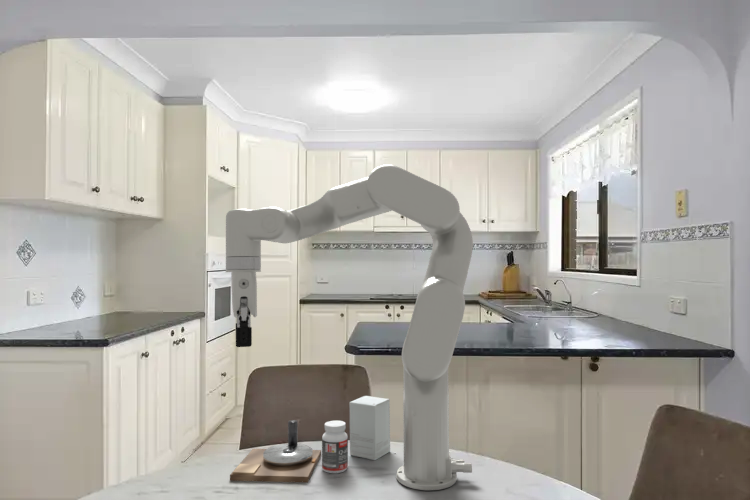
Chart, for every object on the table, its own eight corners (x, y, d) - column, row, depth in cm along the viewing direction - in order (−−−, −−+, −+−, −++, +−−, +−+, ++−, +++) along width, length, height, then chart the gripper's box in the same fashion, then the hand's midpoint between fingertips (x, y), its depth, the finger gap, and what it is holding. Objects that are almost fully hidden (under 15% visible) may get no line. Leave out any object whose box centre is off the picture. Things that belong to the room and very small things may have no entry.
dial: (316, 447, 119) (316, 420, 120) (307, 466, 108) (307, 435, 108) (271, 446, 120) (271, 419, 120) (256, 465, 109) (257, 435, 109)
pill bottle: (344, 475, 108) (343, 428, 108) (318, 473, 109) (318, 426, 109) (350, 465, 113) (350, 420, 114) (326, 463, 115) (326, 418, 115)
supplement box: (391, 451, 122) (391, 398, 122) (374, 461, 116) (374, 405, 116) (365, 445, 126) (365, 394, 126) (348, 455, 119) (348, 401, 120)
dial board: (321, 455, 119) (321, 448, 120) (307, 482, 104) (307, 474, 104) (253, 453, 121) (253, 446, 121) (229, 480, 105) (229, 472, 105)
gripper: (262, 264, 104) (262, 348, 103) (258, 265, 121) (259, 337, 120) (224, 265, 102) (224, 350, 101) (226, 266, 119) (226, 339, 118)
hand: (243, 343), depth 111 cm, fingers open, 9 cm apart
